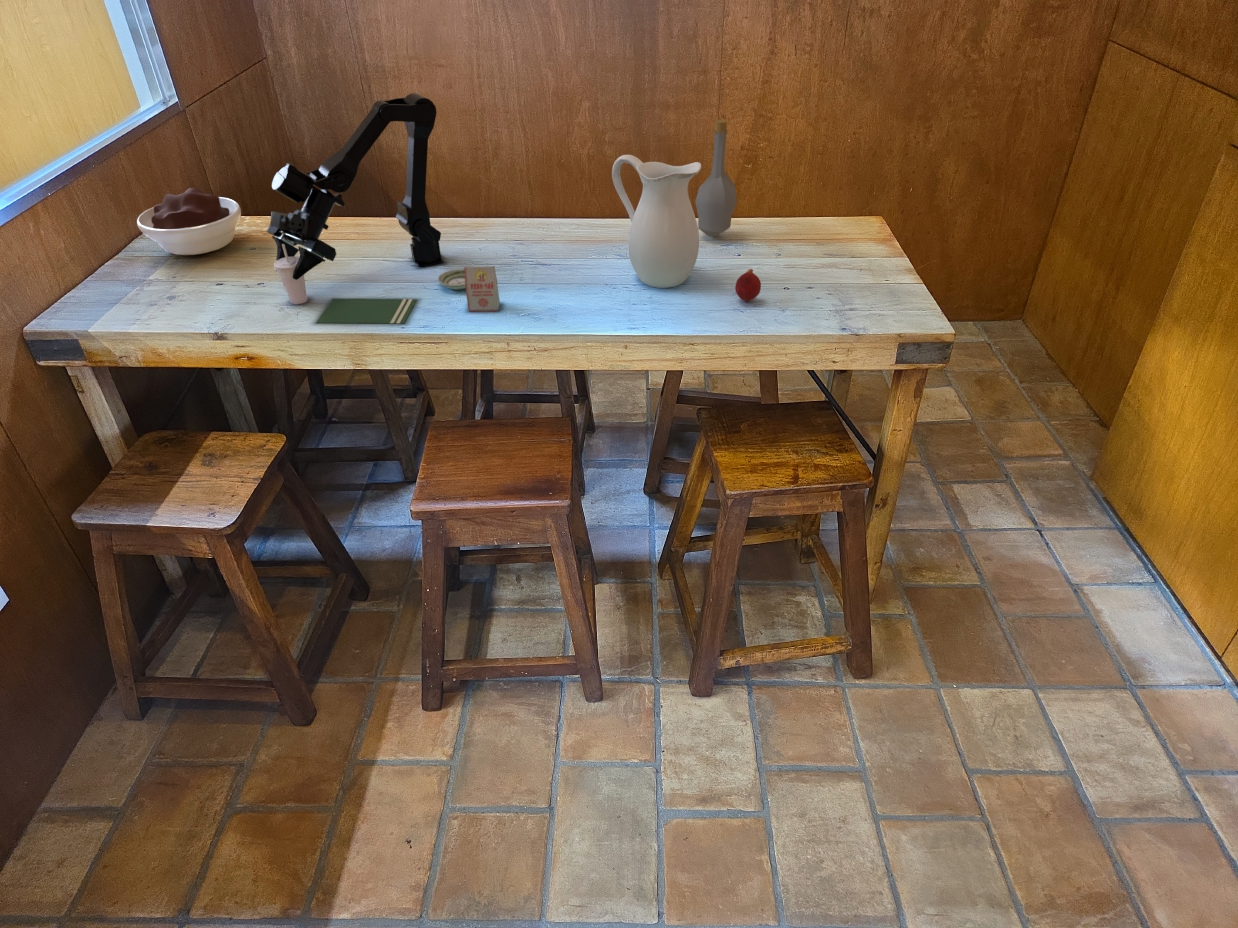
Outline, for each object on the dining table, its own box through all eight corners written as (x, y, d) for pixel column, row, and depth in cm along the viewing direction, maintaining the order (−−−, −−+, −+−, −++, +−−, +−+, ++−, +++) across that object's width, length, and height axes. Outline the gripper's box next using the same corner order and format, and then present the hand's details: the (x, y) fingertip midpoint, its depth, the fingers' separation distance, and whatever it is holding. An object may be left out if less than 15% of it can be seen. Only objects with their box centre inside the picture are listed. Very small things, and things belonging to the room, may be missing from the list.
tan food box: (470, 304, 183) (465, 263, 177) (499, 303, 183) (495, 263, 177) (468, 311, 180) (463, 270, 174) (498, 311, 180) (493, 270, 174)
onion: (752, 309, 179) (756, 276, 175) (729, 303, 182) (732, 271, 177) (763, 299, 183) (766, 267, 178) (740, 294, 186) (743, 262, 181)
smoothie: (287, 309, 182) (269, 251, 173) (283, 298, 186) (265, 241, 177) (315, 303, 184) (299, 246, 175) (310, 292, 188) (295, 236, 180)
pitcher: (710, 277, 193) (718, 161, 176) (666, 300, 184) (670, 180, 166) (638, 252, 206) (639, 141, 189) (593, 272, 196) (590, 157, 179)
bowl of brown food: (139, 271, 199) (115, 212, 190) (160, 235, 218) (140, 180, 209) (243, 261, 204) (225, 203, 194) (255, 226, 223) (239, 172, 214)
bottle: (736, 245, 209) (746, 127, 191) (694, 246, 209) (700, 127, 191) (732, 229, 218) (741, 115, 200) (691, 230, 218) (697, 115, 200)
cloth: (416, 300, 185) (416, 299, 185) (404, 324, 175) (404, 323, 175) (333, 299, 185) (332, 298, 185) (316, 323, 176) (315, 322, 176)
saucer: (463, 274, 196) (462, 264, 195) (487, 285, 191) (486, 276, 189) (431, 286, 191) (429, 276, 189) (454, 298, 185) (452, 288, 184)
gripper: (262, 187, 177) (233, 250, 177) (311, 204, 168) (280, 270, 168) (301, 212, 187) (273, 271, 187) (350, 229, 178) (320, 291, 178)
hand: (285, 275), depth 180 cm, fingers closed on smoothie, 6 cm apart
